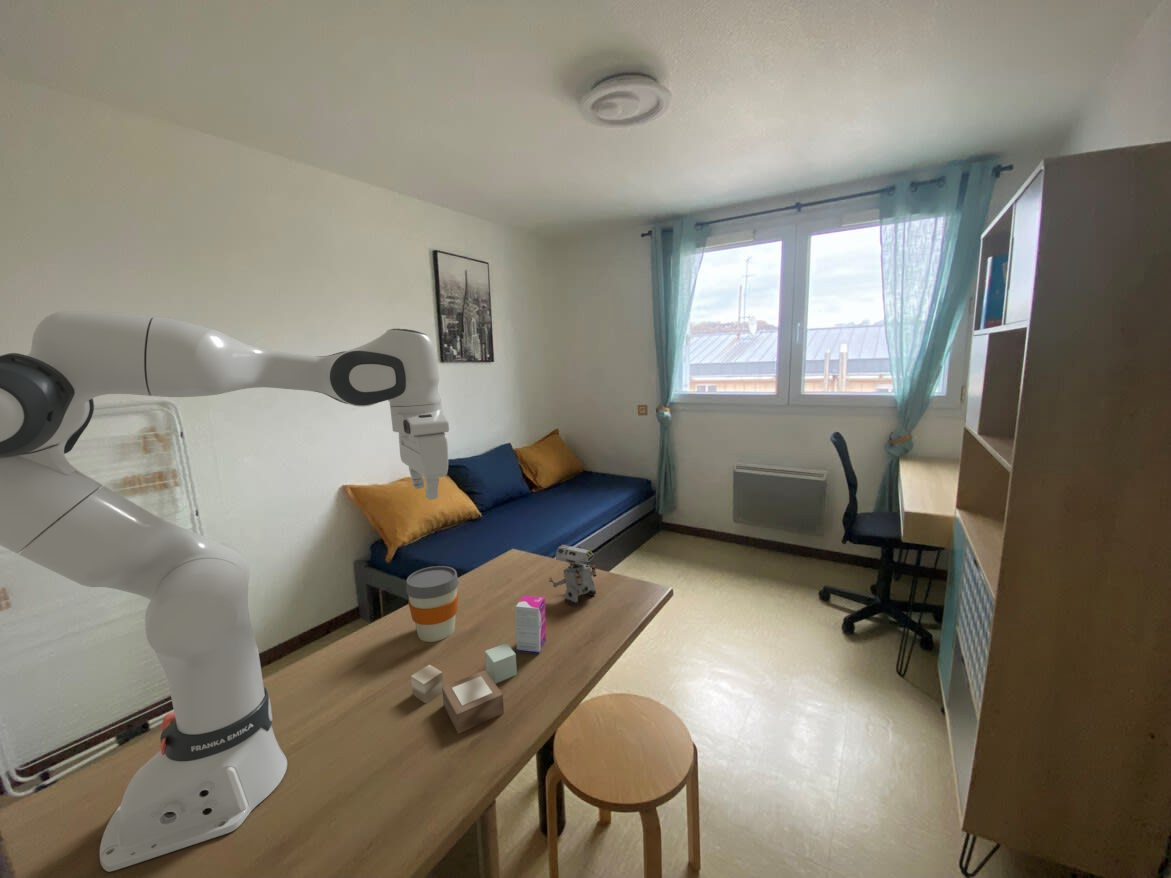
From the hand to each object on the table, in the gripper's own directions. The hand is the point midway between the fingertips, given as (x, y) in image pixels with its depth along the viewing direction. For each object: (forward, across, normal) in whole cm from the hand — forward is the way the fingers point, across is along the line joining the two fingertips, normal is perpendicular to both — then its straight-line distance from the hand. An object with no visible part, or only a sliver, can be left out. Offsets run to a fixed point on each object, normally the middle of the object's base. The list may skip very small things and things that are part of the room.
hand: (425, 492), depth 88 cm
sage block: (+44, -1, +12) cm, 45 cm away
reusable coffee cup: (+44, -26, +6) cm, 51 cm away
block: (+43, -4, -2) cm, 44 cm away
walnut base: (+43, +6, +4) cm, 44 cm away
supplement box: (+44, -6, +22) cm, 50 cm away
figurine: (+44, -20, +44) cm, 65 cm away
